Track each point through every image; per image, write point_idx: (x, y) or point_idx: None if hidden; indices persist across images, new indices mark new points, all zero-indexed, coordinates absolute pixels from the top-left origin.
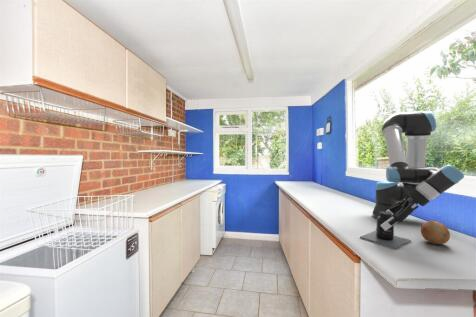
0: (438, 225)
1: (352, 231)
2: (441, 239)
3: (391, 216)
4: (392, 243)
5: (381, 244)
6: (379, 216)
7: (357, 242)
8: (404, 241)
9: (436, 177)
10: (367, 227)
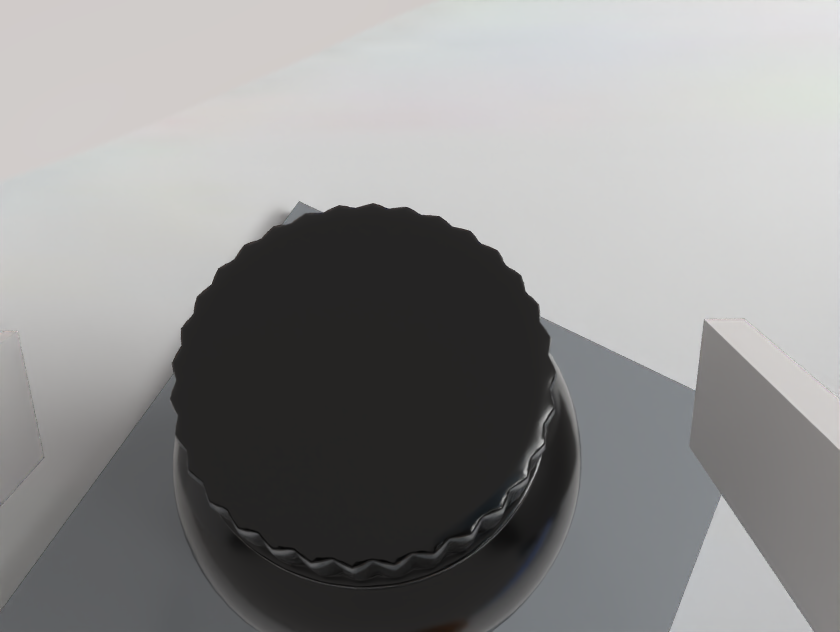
0: None
1: (557, 133)
2: None
3: (318, 580)
4: (160, 620)
5: (120, 462)
6: (730, 339)
7: (117, 192)
8: None
9: None
10: None
